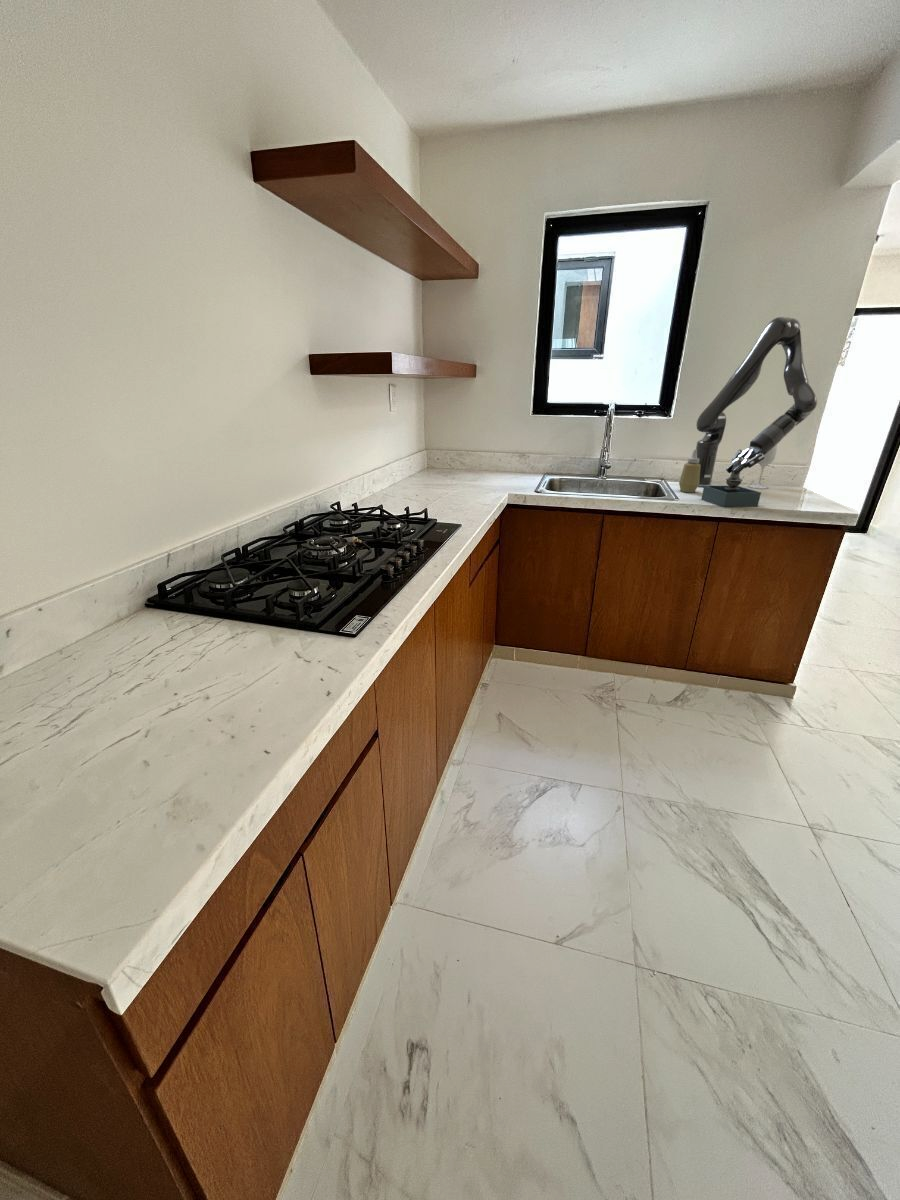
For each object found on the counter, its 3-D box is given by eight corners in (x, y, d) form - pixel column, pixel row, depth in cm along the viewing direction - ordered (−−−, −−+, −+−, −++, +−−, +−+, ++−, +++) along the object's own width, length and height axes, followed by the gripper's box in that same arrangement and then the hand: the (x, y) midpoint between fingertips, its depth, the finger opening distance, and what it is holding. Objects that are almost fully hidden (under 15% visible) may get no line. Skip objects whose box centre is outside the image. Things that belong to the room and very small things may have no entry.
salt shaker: (736, 487, 201) (743, 456, 197) (743, 490, 196) (750, 458, 191) (721, 487, 202) (727, 456, 197) (727, 489, 196) (734, 458, 192)
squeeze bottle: (677, 492, 221) (685, 450, 214) (677, 489, 228) (684, 448, 221) (697, 493, 218) (706, 451, 211) (696, 490, 225) (705, 449, 218)
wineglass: (767, 486, 235) (779, 440, 227) (767, 489, 229) (779, 441, 221) (749, 485, 239) (760, 439, 231) (748, 487, 233) (759, 440, 225)
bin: (701, 499, 207) (704, 485, 205) (733, 498, 209) (736, 485, 207) (723, 507, 193) (726, 492, 191) (757, 506, 195) (761, 492, 193)
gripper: (750, 431, 198) (715, 463, 201) (775, 433, 185) (737, 468, 188) (759, 444, 200) (724, 476, 204) (785, 448, 187) (747, 482, 191)
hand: (731, 472), depth 196 cm, fingers closed on salt shaker, 3 cm apart
